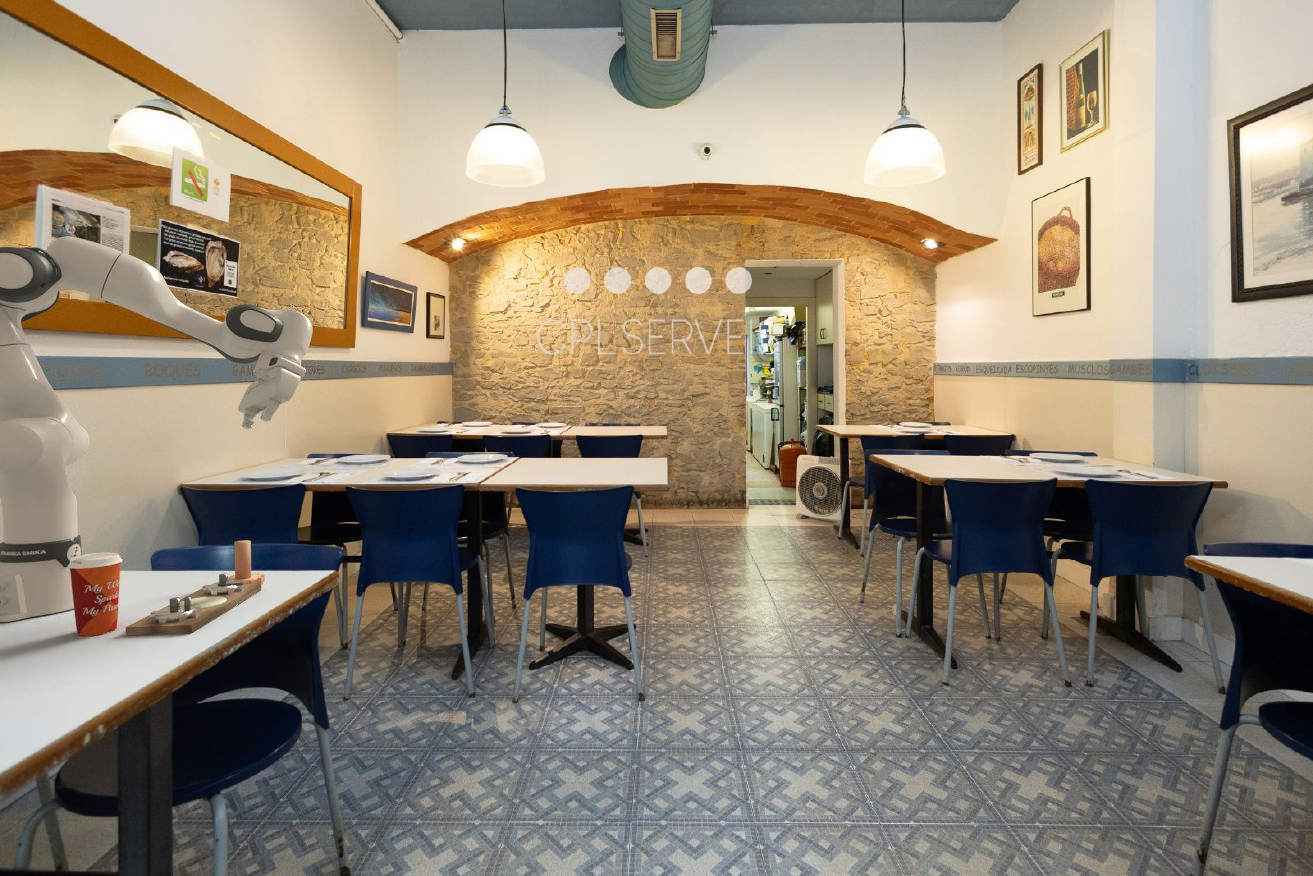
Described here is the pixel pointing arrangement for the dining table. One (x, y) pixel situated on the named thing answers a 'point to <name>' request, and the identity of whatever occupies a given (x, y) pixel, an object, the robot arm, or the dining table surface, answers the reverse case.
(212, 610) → the gear board
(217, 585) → the gear
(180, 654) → the dining table surface
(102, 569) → the paper cup
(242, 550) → the idler gear
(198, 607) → the gear
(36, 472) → the robot arm
